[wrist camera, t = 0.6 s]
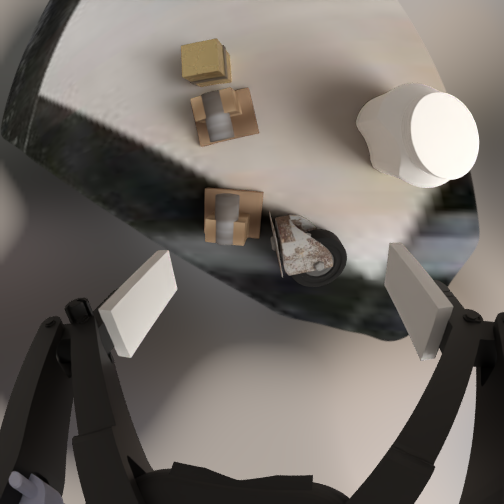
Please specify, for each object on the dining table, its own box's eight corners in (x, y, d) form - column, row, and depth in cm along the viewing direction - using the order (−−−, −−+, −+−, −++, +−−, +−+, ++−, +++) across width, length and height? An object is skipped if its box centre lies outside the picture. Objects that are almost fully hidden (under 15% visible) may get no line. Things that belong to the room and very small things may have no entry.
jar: (432, 164, 32) (494, 181, 19) (378, 184, 35) (424, 210, 21) (405, 89, 29) (460, 68, 15) (347, 106, 32) (381, 85, 18)
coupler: (198, 59, 31) (180, 45, 25) (230, 54, 31) (217, 37, 24) (200, 87, 33) (181, 78, 27) (232, 82, 32) (219, 71, 26)
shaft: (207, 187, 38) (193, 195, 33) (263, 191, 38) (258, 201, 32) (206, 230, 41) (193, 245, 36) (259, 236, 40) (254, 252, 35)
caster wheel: (337, 263, 43) (276, 275, 43) (335, 197, 37) (264, 210, 37) (351, 290, 37) (282, 304, 38) (352, 219, 31) (270, 234, 32)
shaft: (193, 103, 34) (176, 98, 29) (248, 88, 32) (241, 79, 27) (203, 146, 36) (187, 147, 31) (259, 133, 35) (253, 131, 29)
